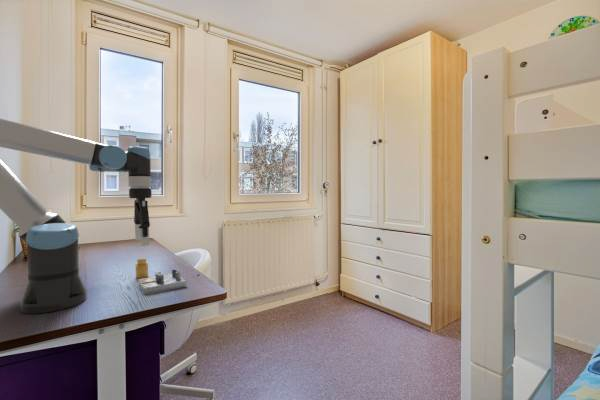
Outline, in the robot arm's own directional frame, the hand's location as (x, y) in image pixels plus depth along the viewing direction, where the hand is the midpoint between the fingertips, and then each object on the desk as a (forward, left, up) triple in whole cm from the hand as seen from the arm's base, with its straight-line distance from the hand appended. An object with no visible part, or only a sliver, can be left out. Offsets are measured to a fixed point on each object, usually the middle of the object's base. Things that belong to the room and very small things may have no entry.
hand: (142, 242), depth 114 cm
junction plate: (+4, -16, -13) cm, 21 cm away
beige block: (0, 0, -13) cm, 13 cm away
